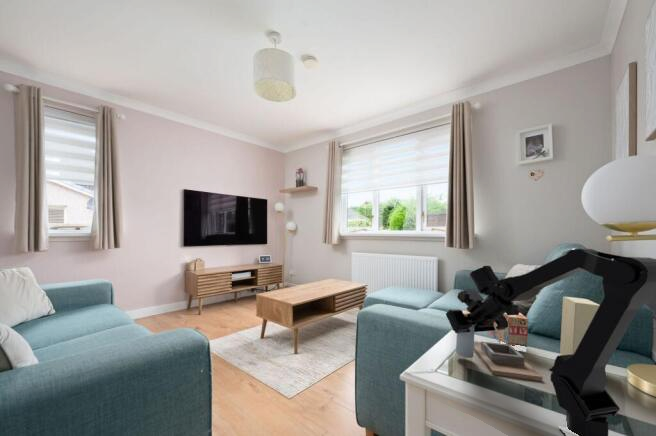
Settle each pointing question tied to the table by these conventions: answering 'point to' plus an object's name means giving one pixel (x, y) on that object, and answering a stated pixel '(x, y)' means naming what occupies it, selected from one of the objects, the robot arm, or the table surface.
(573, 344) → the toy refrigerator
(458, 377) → the table surface
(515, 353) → the jig board
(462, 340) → the peach-capped cylinder
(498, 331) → the stack of blocks
